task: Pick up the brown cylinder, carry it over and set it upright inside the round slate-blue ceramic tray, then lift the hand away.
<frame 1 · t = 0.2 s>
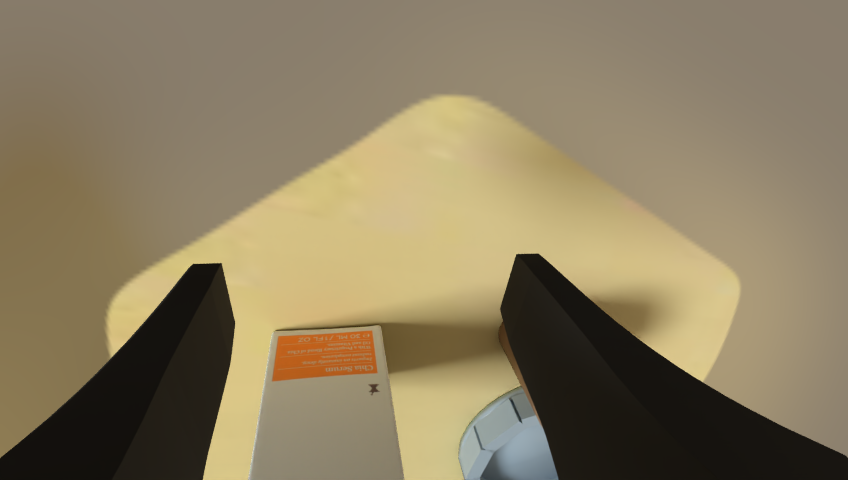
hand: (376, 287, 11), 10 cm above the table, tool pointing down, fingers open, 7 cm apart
brown cylinder: (532, 328, 28), on the table
round tray: (537, 436, 34), on the table
skincare box: (327, 351, 26), on the table
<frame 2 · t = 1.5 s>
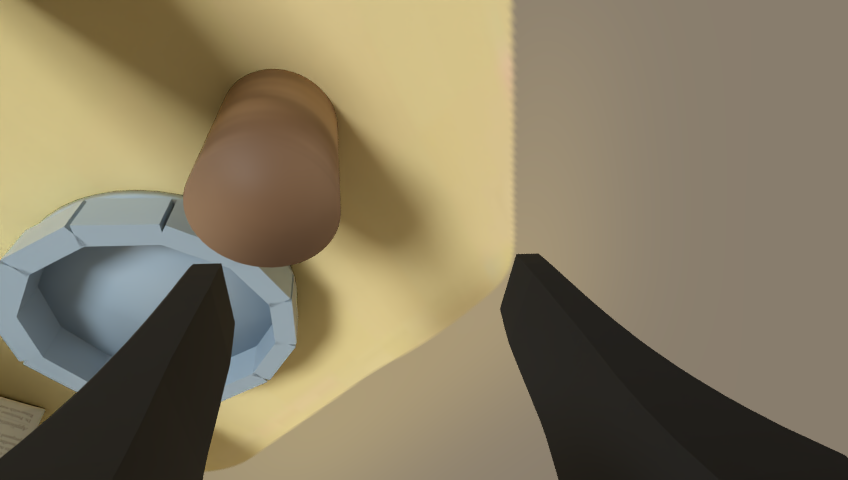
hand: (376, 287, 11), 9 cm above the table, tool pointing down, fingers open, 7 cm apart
brown cylinder: (281, 125, 18), on the table
round tray: (171, 293, 22), on the table
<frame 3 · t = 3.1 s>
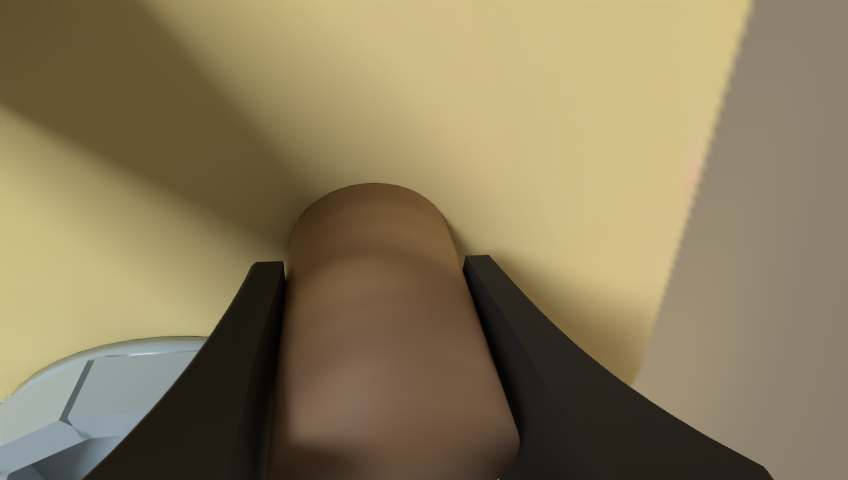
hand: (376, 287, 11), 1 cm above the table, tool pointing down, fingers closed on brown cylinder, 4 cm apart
brown cylinder: (371, 251, 13), on the table, touching gripper
round tray: (202, 442, 17), on the table
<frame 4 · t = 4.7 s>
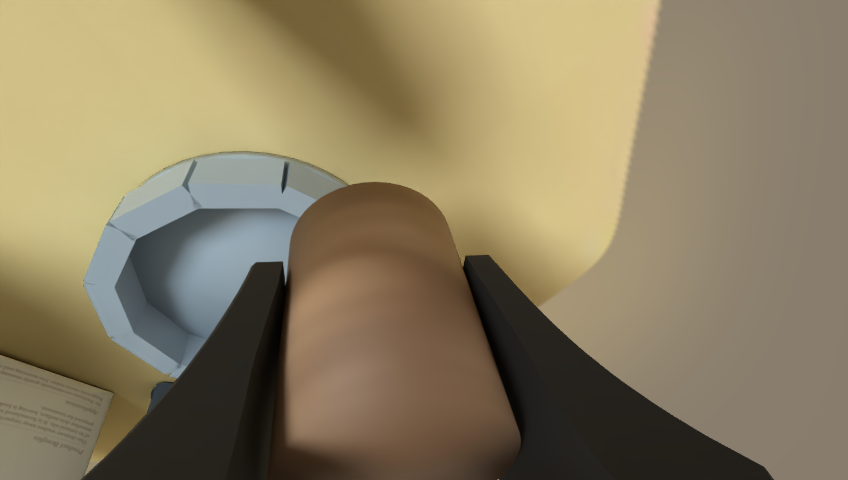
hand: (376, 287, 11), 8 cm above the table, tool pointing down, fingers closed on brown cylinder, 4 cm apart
brown cylinder: (372, 250, 13), point 7 cm above the table, touching gripper
skincare box 2: (16, 385, 24), on the table
round tray: (262, 268, 21), on the table
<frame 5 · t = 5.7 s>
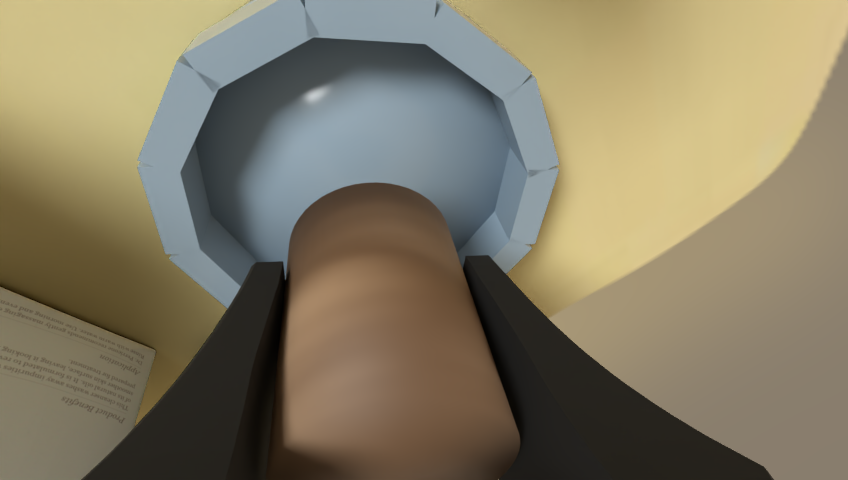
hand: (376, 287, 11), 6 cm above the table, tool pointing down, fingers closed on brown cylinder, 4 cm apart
brown cylinder: (371, 251, 13), point 4 cm above the table, touching gripper
skincare box 2: (33, 339, 18), on the table
round tray: (361, 171, 16), on the table
when the fingers open (3 cm above the table, at t = 6.6 s): brown cylinder drops 1 cm, resting on round tray.
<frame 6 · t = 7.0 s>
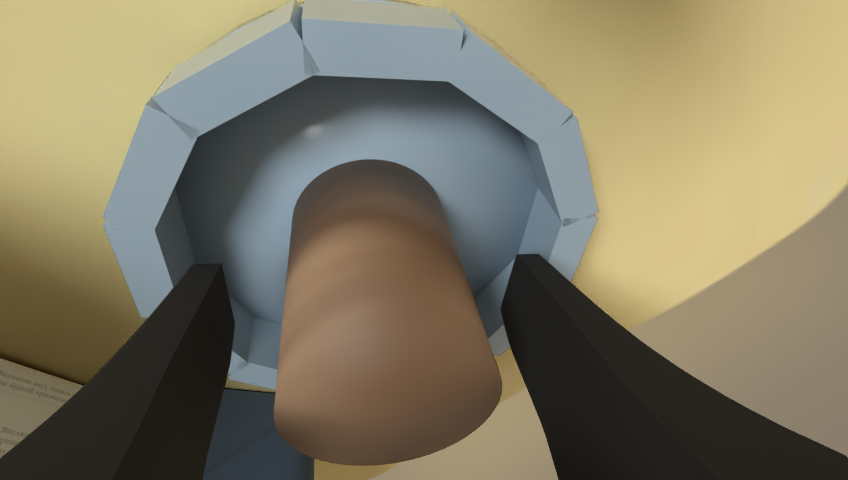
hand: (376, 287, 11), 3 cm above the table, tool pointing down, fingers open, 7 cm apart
vaping device: (252, 402, 19), on the table
brown cylinder: (369, 225, 13), point 1 cm above the table, touching round tray
skincare box 2: (1, 395, 16), on the table
round tray: (367, 214, 14), on the table
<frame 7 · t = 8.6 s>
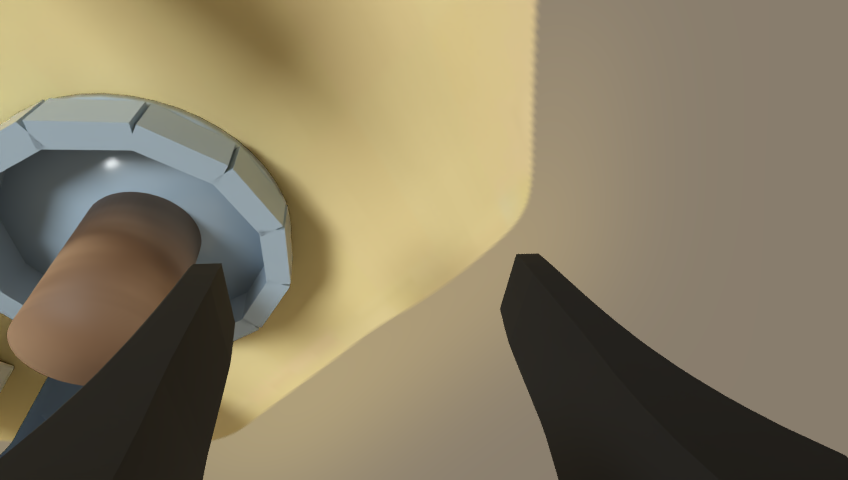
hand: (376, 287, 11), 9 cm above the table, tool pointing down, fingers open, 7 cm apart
vaping device: (108, 367, 25), on the table
brown cylinder: (145, 235, 20), point 1 cm above the table, touching round tray
round tray: (149, 227, 20), on the table
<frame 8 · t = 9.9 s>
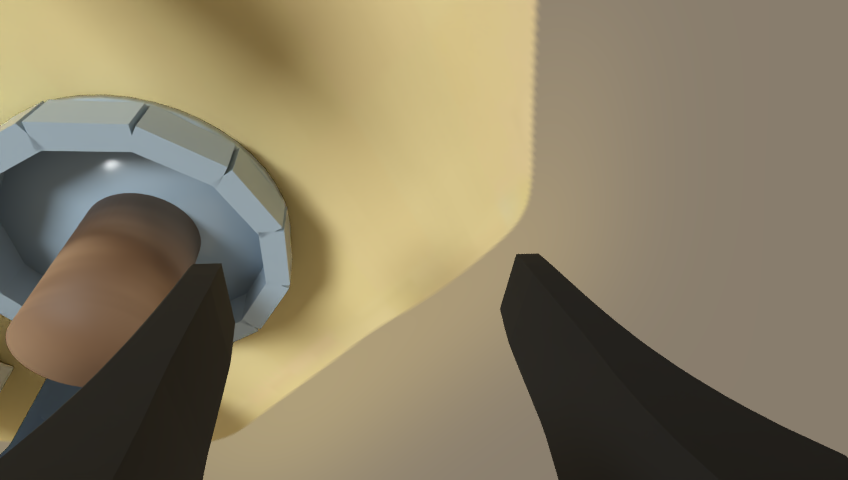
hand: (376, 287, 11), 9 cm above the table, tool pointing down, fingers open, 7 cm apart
vaping device: (107, 367, 25), on the table
brown cylinder: (145, 236, 19), point 1 cm above the table, touching round tray
round tray: (149, 228, 20), on the table
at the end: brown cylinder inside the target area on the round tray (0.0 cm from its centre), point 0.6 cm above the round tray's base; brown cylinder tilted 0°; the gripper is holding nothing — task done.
